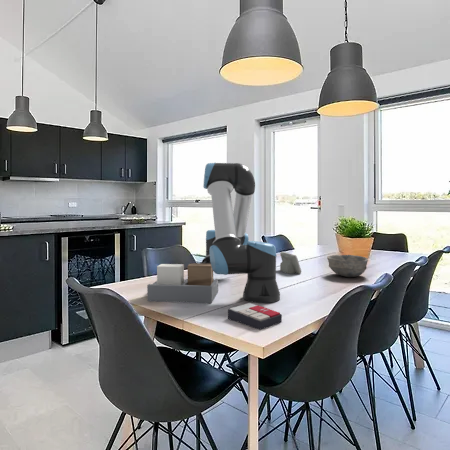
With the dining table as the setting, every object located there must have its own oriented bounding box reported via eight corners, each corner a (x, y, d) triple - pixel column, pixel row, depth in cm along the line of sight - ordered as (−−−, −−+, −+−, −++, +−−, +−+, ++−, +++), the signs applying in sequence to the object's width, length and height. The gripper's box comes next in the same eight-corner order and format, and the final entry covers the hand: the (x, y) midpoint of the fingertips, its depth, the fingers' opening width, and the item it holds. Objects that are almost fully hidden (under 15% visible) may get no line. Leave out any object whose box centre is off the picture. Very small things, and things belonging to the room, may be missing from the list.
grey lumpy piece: (302, 274, 206) (302, 255, 205) (286, 275, 204) (286, 255, 204) (292, 269, 222) (293, 250, 221) (277, 269, 220) (277, 251, 220)
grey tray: (211, 303, 149) (211, 286, 149) (147, 301, 153) (147, 285, 152) (218, 292, 167) (218, 277, 167) (160, 290, 170) (160, 276, 170)
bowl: (354, 282, 186) (354, 262, 186) (318, 275, 202) (319, 257, 201) (375, 276, 200) (375, 257, 199) (340, 271, 215) (340, 253, 215)
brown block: (211, 292, 160) (211, 266, 159) (187, 291, 161) (187, 265, 160) (213, 288, 166) (213, 263, 165) (190, 288, 167) (190, 263, 166)
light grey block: (180, 293, 158) (180, 266, 157) (157, 292, 159) (156, 266, 159) (184, 289, 164) (183, 264, 163) (161, 289, 165) (161, 263, 164)
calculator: (260, 319, 119) (227, 307, 130) (259, 332, 119) (227, 319, 130) (282, 312, 126) (249, 301, 137) (281, 324, 127) (249, 312, 138)
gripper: (223, 270, 189) (216, 281, 166) (197, 270, 191) (186, 280, 167) (223, 255, 188) (216, 264, 165) (197, 255, 190) (186, 263, 167)
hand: (201, 272), depth 166 cm, fingers closed
